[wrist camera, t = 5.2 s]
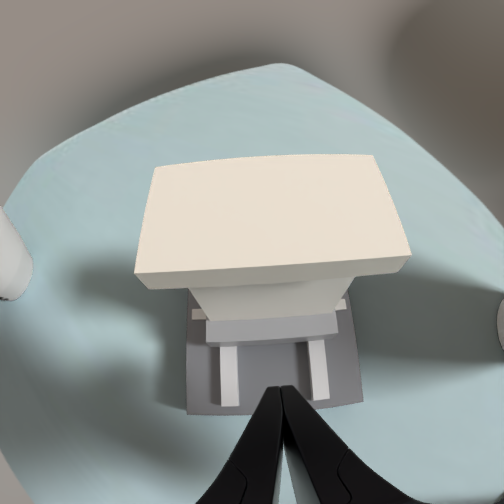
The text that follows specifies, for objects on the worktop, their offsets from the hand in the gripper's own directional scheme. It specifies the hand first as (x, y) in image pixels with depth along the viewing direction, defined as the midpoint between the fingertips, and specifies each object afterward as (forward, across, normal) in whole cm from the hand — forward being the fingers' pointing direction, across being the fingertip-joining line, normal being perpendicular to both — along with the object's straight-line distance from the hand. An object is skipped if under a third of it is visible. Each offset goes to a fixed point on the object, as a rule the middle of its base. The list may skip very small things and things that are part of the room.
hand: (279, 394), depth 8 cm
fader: (+6, 0, 0) cm, 6 cm away
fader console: (+10, 0, 0) cm, 10 cm away
